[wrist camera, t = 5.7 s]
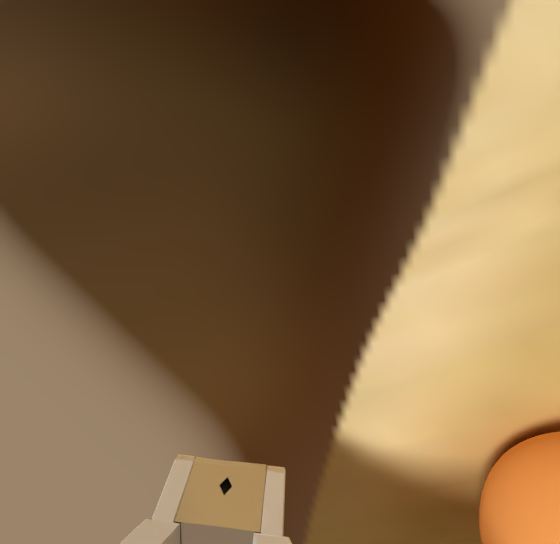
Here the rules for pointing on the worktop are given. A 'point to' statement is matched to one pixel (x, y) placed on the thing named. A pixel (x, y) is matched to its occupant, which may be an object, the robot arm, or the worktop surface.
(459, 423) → the worktop surface
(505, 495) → the ball
